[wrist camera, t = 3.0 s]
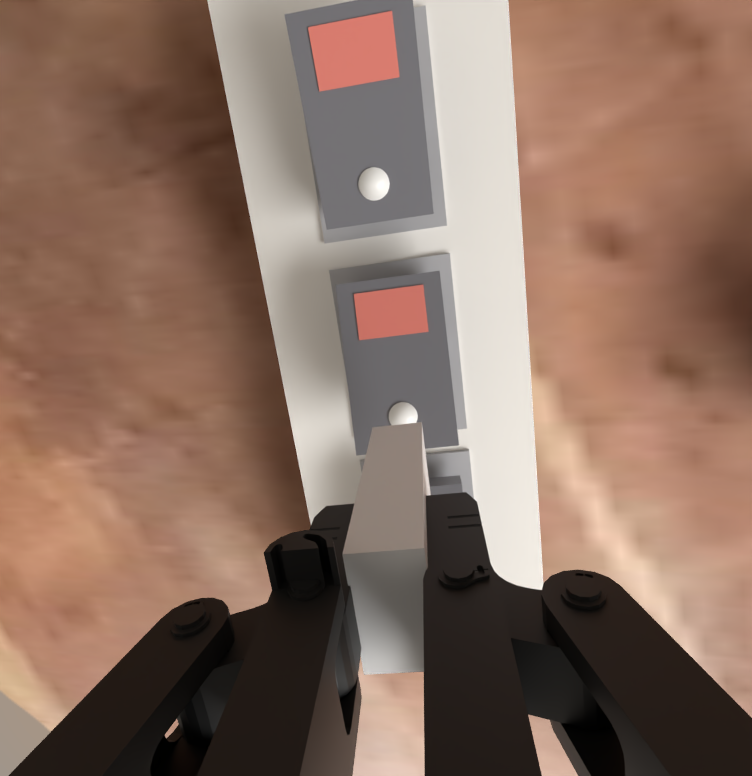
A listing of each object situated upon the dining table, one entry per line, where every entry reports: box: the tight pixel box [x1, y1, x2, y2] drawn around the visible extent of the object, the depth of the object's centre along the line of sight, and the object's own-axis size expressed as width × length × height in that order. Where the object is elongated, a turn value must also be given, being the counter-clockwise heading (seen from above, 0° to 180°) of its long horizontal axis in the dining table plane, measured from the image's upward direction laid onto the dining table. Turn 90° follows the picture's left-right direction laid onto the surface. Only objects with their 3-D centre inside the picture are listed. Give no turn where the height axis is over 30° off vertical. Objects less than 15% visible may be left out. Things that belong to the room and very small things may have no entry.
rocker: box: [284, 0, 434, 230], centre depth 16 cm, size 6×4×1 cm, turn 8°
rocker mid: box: [336, 271, 459, 456], centre depth 19 cm, size 6×4×2 cm, turn 8°
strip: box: [207, 0, 543, 590], centre depth 21 cm, size 34×10×5 cm, turn 8°
